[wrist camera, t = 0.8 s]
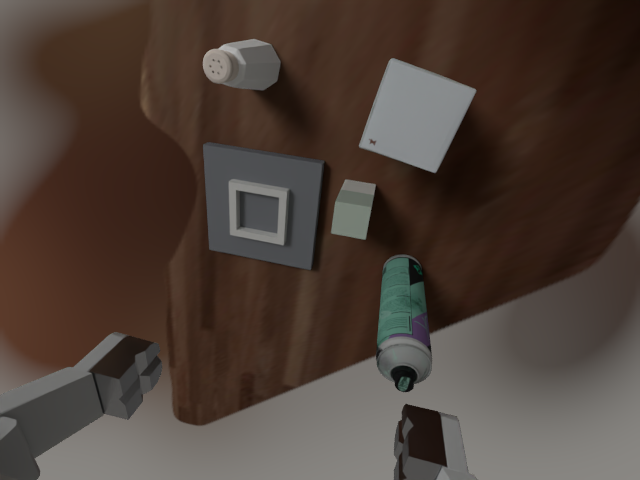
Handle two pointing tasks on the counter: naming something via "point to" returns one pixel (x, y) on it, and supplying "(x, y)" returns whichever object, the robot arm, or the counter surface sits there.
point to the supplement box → (415, 115)
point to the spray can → (403, 324)
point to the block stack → (353, 209)
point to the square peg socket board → (262, 204)
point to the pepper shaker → (243, 65)
